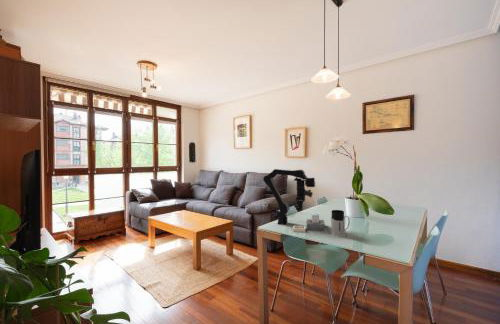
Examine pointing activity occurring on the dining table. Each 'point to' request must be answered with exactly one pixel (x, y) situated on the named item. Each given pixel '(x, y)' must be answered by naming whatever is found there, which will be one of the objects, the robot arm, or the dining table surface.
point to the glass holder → (338, 223)
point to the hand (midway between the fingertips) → (301, 207)
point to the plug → (315, 218)
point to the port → (315, 225)
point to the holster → (299, 228)
